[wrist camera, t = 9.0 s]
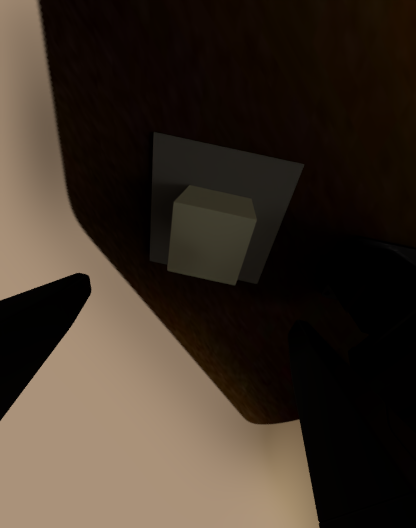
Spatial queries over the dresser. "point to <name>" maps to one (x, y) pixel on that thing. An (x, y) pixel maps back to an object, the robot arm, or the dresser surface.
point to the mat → (223, 180)
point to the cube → (210, 234)
